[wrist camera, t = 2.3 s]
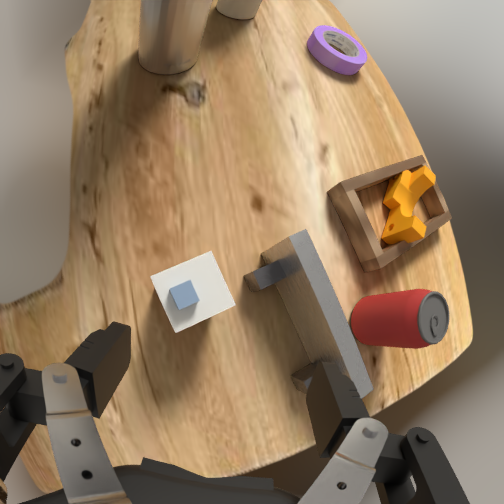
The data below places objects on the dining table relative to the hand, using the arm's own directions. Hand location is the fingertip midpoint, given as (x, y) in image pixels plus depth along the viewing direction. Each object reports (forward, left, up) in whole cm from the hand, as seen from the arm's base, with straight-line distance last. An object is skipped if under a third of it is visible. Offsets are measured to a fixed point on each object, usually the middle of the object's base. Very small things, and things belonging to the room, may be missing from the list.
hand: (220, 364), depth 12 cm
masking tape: (-34, +43, -20) cm, 59 cm away
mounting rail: (+5, +11, -20) cm, 23 cm away
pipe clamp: (-2, +34, -20) cm, 40 cm away
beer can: (+10, +21, -20) cm, 31 cm away
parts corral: (-2, +34, -20) cm, 40 cm away
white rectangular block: (-3, +1, -20) cm, 20 cm away
